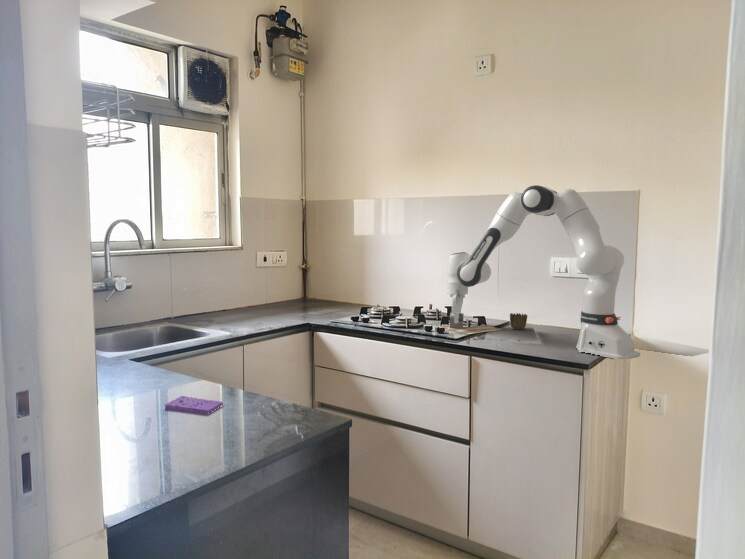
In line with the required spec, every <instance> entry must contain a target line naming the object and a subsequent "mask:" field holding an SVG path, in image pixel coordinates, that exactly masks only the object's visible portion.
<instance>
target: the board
mask: <svg viewBox="0 0 745 559" xmlns="http://www.w3.org/2000/svg"><path fill="white" fill-rule="evenodd" d="M482 325H483V326H479V327H463V329H455V328H450V324H442V325H437V326H436V328H437V327H439V328H442V329H443V328H444V329H446V330H451V331H454V332H458V333H463V334H467V335H471V334H472V335H474V334H480V333H485V332H494V331H495V332H496V331H501V330H503V329H502V328H500V327H499V328H498V327H494V326H492V325H491V326H490V325H485V324H482Z"/></svg>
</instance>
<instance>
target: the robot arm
mask: <svg viewBox="0 0 745 559" xmlns="http://www.w3.org/2000/svg"><path fill="white" fill-rule="evenodd" d="M530 214H535V215H538V216H543V217H549V216H550V217H551V216H553V215H554V214H555V215H556V216H557V217H558V220H560V223H561V225H562V226H563V228H564V230H565V232H566V234H567V236H568V237H569V239H570V241H571V243H572V246H573V250H574V252H575V255H576V267H577V269H578V270H579V272H580V273H582V274H583V275H585V276H587V277H588V279H587V282H586V285H585V287H584V289H583V292H582V293H583V295H582V311H581V312H580V331H579V336H578V339H577V344H576V345H575V349H576V348H577V349H576V350H577V351H578V353H581V352H585V353H584V354H586V353H591V354H590V355H592V354H595V355H594V356H597V355H600V356H599V357H604V358H610V359H615V360H631V359H636V358H640V356H641V352H640V351H637V350H635V345H634V340H633V338H632V336H631V335H630V334H628V333H627V332H626V331H625V330H624V329H623V328H622V327H621V326H620V325H619V322H618V321H621V316H616V313H615V306H616V305H615V304H616V303H615V302H616V292H617V287H618V283H619V279H620V275H621V270H622V268H623V265H624V263H625V257H624V253H622V251H621V250H620V249H618V248H617V247H614V246H611V245H605V243H604V241H603V238H602V236H601V231H600V225H599V223H598V222H597V220H596V219H595V216H594V214H593V213H592V211H591V210H590V208H589V207H588V205H587V203H586V202H585V201H584V198H582V197H581V195H580V194H579V193H578V192H577V191H576V190H575V189H572V188H568V189H564V190H561V191H559V192H557V191H555V190H554V189H552V188H549V187H546V186H542V185H539V184H538V185H530V186H528V187H526V188H525V189H524V191H523V192H522V193H521V192H515V191H514V192H511V193H510V194H509V195H508V196H507V197H506V198H505V199H504V201H503V202H502V203H501V205H500V207H499V208H498V210H497V211H496V213H495V215H494V217H493V219H492V220H491V222H490V224H489V226H488V228H487V229H486V231H485V233H484V234H483V236H482V237H481V239H480V241H479V242H478V244H477V246H475V248H474V250H473V252H472V253H471V255H470V254H469V253H468V252H466V251H463V252H462V251H461V252H455V253H452V254H451V255H450V256H449V259H448V265H447V274H448V278H447V289H446V290H447V293H446V294H449V296H450V298H451V313H452V314H454V323H458V320H459V314H460V313H462V308H463V305H464V304H463V302H464V299H465V297H466V295H468V294H469V287H474V286H476V285H479V284H482V283H485V282H486V281H488V280H489V279H490V276H491V274H492V269H491V267H490V265H489V264H488V263H487V260H488V259H489V257H490V255H491V254H492V253H493V252H494V250H495V249H496V248H497V247H499V245H501V244H503V243H504V242H507V241H509V240H510V239H512V238H513V237H514V235H515V234H516V233H517V232H518V230H519V229H520V228H521V225H522V224H523V222H524V221H525V219H526V218H527V216H528V215H530Z"/></svg>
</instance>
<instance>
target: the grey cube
mask: <svg viewBox="0 0 745 559" xmlns="http://www.w3.org/2000/svg"><path fill="white" fill-rule="evenodd" d="M464 316H465V315H464V313H463V312H461V313H460V314H459V320H458V323H454V314H452V312H450V313H449V325H450V328H455V329H463V323H464Z"/></svg>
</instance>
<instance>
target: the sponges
mask: <svg viewBox="0 0 745 559" xmlns="http://www.w3.org/2000/svg"><path fill="white" fill-rule="evenodd" d="M221 405H223V406H224V402H223V401H220V400H213V399H211V400H209V399H204V398H197V397H192V396H190V397H189V396H186V395H185V396H184V395H180V396H179V397H177V398H175V399H173V400H171V401H170V402H167V403H164V407H165V410H171V411H178V412H184V413H192V414H198V413H200V415H205V414H207V415H209V414H208V413H211V412H212V411H214V410H215V409H217V408H218V407H220V406H221ZM217 410H218V409H217ZM214 412H215V411H214ZM212 413H213V412H212ZM212 413H211V414H212Z"/></svg>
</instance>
